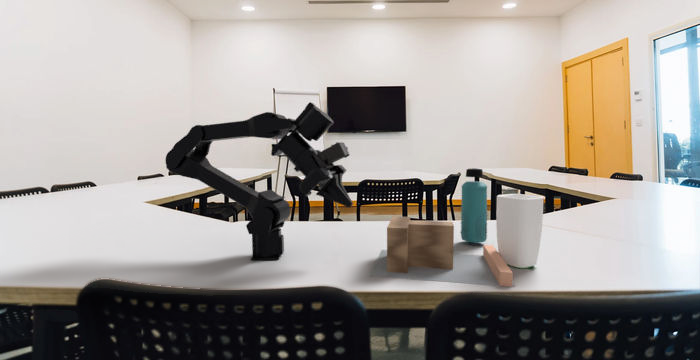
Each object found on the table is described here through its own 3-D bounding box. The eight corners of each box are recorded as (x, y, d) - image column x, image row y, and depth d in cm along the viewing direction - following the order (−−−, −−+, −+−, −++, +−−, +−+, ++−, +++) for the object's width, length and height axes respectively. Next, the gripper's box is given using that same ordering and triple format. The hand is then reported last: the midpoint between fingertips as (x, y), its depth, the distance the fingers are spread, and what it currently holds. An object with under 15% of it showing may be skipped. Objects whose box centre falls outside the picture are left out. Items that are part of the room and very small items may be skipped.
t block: (387, 271, 67) (387, 227, 66) (392, 254, 79) (392, 216, 78) (454, 276, 64) (455, 230, 64) (450, 257, 76) (450, 218, 75)
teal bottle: (489, 249, 84) (491, 169, 82) (461, 247, 85) (462, 169, 83) (484, 242, 90) (486, 167, 88) (458, 241, 91) (459, 167, 90)
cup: (522, 273, 67) (524, 199, 66) (491, 263, 73) (493, 195, 72) (544, 267, 70) (547, 196, 69) (513, 257, 77) (515, 193, 75)
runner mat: (369, 278, 65) (369, 263, 65) (381, 251, 82) (381, 239, 82) (515, 288, 59) (515, 272, 59) (494, 257, 77) (495, 245, 77)
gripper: (313, 126, 65) (369, 184, 63) (337, 132, 83) (382, 177, 81) (276, 167, 67) (330, 223, 66) (308, 164, 85) (350, 208, 84)
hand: (351, 205), depth 74 cm, fingers closed
